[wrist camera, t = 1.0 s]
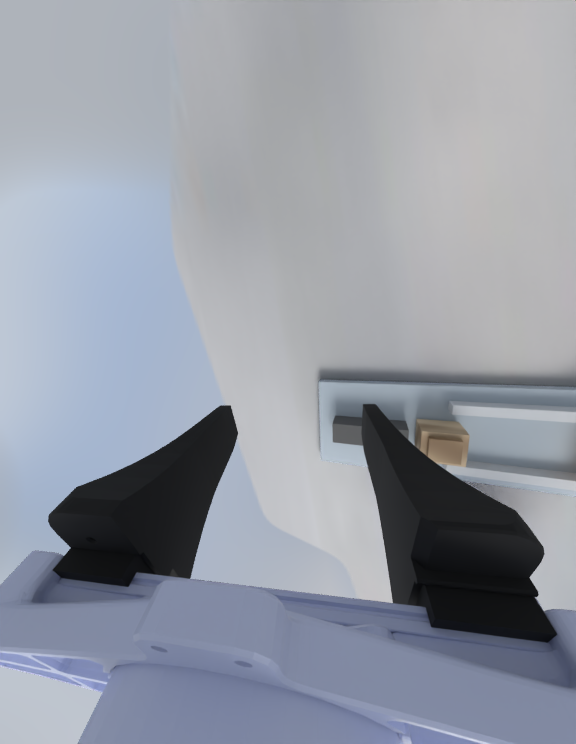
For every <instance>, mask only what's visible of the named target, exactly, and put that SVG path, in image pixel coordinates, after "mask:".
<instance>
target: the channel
mask: <svg viewBox="0 0 576 744" xmlns="http://www.w3.org/2000/svg"><path fill="white" fill-rule="evenodd" d="M363 404H376V405H377V406H378V407H379V409H380V410H381V411H382V412H383V413H384V415H385V416H386V417H387V418H388V419H389V420H401V421H406V423H407V426H408V429H409V439H408V440H409V441H410V442H411V443H412V444H413V445H414V446H415V431H416V419H428V420H441V421H455V422H459V423H460V424H461V425H462V426H463V428H464V429H465V430H466V431H467V432H468V434H469V435H470V438H469V446H468V454H467V462H466V467H460V466H452V465H444V464H438V465H439V466H441V467H442V468H444V469H445V470H447V471H448V472H449V473H451V474H452V475H454V476H455V477H457V478H459V479H460V480H462V481H468V482H475V483H482V484H489V485H496V486H503V487H510V488H517V489H524V490H531V491H538V492H545V493H552V494H559V495H566V496H573V497H576V387H564V386H529V385H495V384H460V383H426V382H391V381H357V380H322V379H320V381H319V415H320V447H321V461H328V462H335V463H342V464H349V465H356V466H363V467H368V465H367V462H366V458H365V454H364V449H363V446H360V445H351V444H342V443H334V442H333V429H332V423H333V420H334V418H335V415H336V416H349V417H362V411H363Z"/></svg>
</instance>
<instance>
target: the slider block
mask: <svg viewBox="0 0 576 744" xmlns="http://www.w3.org/2000/svg"><path fill="white" fill-rule="evenodd" d="M469 438H470V435H469V434H468V432H467V431H466V430H465V429H464V428H463V426H462V425H461V424H460V423H459V422H455V421H441V420H428V419H416V431H415V447H417V448H418V449H419V450H420V451H421V452H423V453H424V454H425V455H426V456H427V457H429V458H430V459H431V460H433V461H434V462H435V463H437V464H444V465H452V466H460V467H466V462H467V454H468V446H469Z"/></svg>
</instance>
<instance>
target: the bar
mask: <svg viewBox="0 0 576 744" xmlns="http://www.w3.org/2000/svg"><path fill="white" fill-rule="evenodd" d="M390 422H391V423H392V424H393V425H394V426H395V427H396V428H397V429H398V430H399V431H400V432H401V433H402V434H403V435H404V436H405V437H406V438H407V439H409V429H408V426H407V423H406V421H401V420H390ZM332 429H333V442H334V443H342V444H351V445H360V446H363V442H362V435H361V431H362V417H349V416H336V415H335V418H334V420H333V423H332Z"/></svg>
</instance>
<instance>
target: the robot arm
mask: <svg viewBox="0 0 576 744" xmlns="http://www.w3.org/2000/svg"><path fill="white" fill-rule="evenodd" d="M237 435H238V431H237V428H236V424H235V420H234V416H233V413H232V409H231V406H219V407H218V408H216V409H215V410H214V411H212V412H211V413H210V414H209V415H207V416H206V417H205V418H203V419H202V420H201V421H200V422H198V423H197V424H196V425H195V426H193V427H192V428H190V429H189V430H188V431H186V432H185V433H184V434H182V435H181V436H179V437H178V438H177V439H175V440H174V441H172V442H170V443H169V444H167V445H166V446H164V447H162V448H161V449H159V450H158V451H156V452H154V453H152V454H150V455H149V456H147V457H145V458H143V459H141V460H139V461H137V462H136V463H133V464H132V465H129V466H127V467H125V468H123V469H121V470H118V471H116V472H114V473H112V474H109V475H107V476H105V477H102V478H99V479H97V480H94V481H92V482H89V483H86V484H84V485H81V486H78V487H76V489H74V490H73V491H72V492H71V493H70V494H69V495H68V496H67V497H66V498H65V499H64V500H63V501H62V502H61V503H60V504H59V505H58V506H57V507H56V508H55V509H54V510H53V511H52V512H51V513H50V514H49V519H48V522H49V524H50V526H51V527H52V529H53V530H54V531H55V532H56V533H57V534H58V535H59V536H60V537H61V538H62V539H63V540H64V541H65V542H66V543H67V544H68V545H69V546H70V547H71V549H70V550H69V551H68V552H67V554H66V555H65V556H63V555H61V554H59V553H54V552H45V551H32V552H31V553H30V555H28V557H26V559H25V560H24V561H23V562H22V563H21V564H20V565H19V566H18V567H17V568H16V569H15V570H14V571H13V572H12V573H11V574H10V575H9V576H8V578H7V579H6V580H5V581H4V582H3V583H2V584H1V585H0V666H1V667H5V668H10V669H14V670H18V671H22V672H26V673H31V674H34V675H39V676H43V677H47V678H50V679H54V680H58V681H62V682H66V683H69V684H73V685H76V686H80V687H84V688H87V689H91V690H95V691H98V692H102V695H101V697H100V699H99V701H98V703H97V705H96V707H95V709H94V711H93V713H92V715H91V717H90V719H89V721H88V723H87V725H86V728H85V729H84V731H83V734H82V736H81V738H80V740H79V742H78V744H576V611H572V610H563V609H551V610H546V611H543V609H542V607H541V606H540V604H539V602H538V600H537V599H536V597H537V596H538V591H537V589H536V588H535V586H534V584H533V583H532V581H531V580H530V578H529V577H530V576H531V575H532V573H533V572H534V571H535V569H536V568H537V567H538V566H539V564H540V563H541V561H542V559H543V556H544V548H543V546H542V545H541V543H540V542H539V541H538V539H537V538H536V536H535V535H534V534H533V532H532V531H531V529H530V528H529V527H528V525H527V524H526V523H525V522H524V520H523V519H522V518H521V517H520V516H519V514H518V513H517V512H516V511H515V510H513V509H511V508H509V507H508V506H506V505H504V504H502V503H500V502H498V501H496V500H494V499H493V498H491V497H489V496H487V495H485V494H483V493H482V492H480V491H478V490H476V489H475V488H473V487H471V486H470V485H468V484H466V483H465V482H463V481H462V480H460V479H459V478H457V477H455V476H454V475H452V474H451V473H449V472H448V471H447V470H445V469H444V468H442V467H441V466H439V465H438V464H437V463H435V462H434V461H433V460H431V459H430V458H429V457H427V456H426V455H425V454H424V453H423V452H421V451H420V450H419V449H418V448H417V447H415V446H414V445H413V444H412V443H411V442H410V441H409V440H408V439H407V438H406V437H405V436H404V435H403V434H402V433H401V432H400V431H399V430H398V429H397V428H396V427H395V426H394V425H393V424H392V423H391V422H390V420H389V419H388V418H387V417H386V416H385V415H384V413H383V412H382V411H381V410H380V409H379V407H378V406H377V405H376V404H363V411H362V431H361V435H362V442H363V449H364V454H365V458H366V462H367V465H368V469H369V473H370V476H371V480H372V484H373V487H374V491H375V495H376V499H377V504H378V509H379V515H380V521H381V527H382V533H383V539H384V545H385V552H386V558H387V565H388V571H389V578H390V585H391V592H392V599H393V603H387V602H378V601H370V600H362V599H354V598H345V597H337V596H329V595H320V594H311V593H304V592H295V591H287V590H279V589H270V588H262V587H254V586H246V585H237V584H229V583H221V582H212V581H204V580H196V579H190V577H191V573H192V569H193V564H194V561H195V557H196V553H197V549H198V545H199V542H200V538H201V534H202V531H203V527H204V524H205V521H206V518H207V514H208V511H209V508H210V505H211V502H212V499H213V496H214V493H215V491H216V488H217V486H218V483H219V481H220V479H221V477H222V474H223V472H224V470H225V468H226V465H227V463H228V461H229V458H230V456H231V454H232V452H233V449H234V446H235V443H236V439H237Z"/></svg>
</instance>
